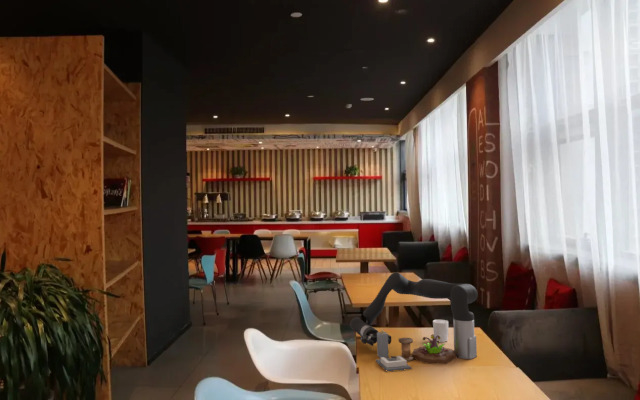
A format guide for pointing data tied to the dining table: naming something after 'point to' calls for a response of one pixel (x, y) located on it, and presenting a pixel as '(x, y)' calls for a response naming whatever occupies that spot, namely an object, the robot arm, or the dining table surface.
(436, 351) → the plant
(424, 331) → the dining table surface
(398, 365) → the grey u-shaped stand base
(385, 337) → the gray block with knob
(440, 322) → the white cup
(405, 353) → the bobbin
